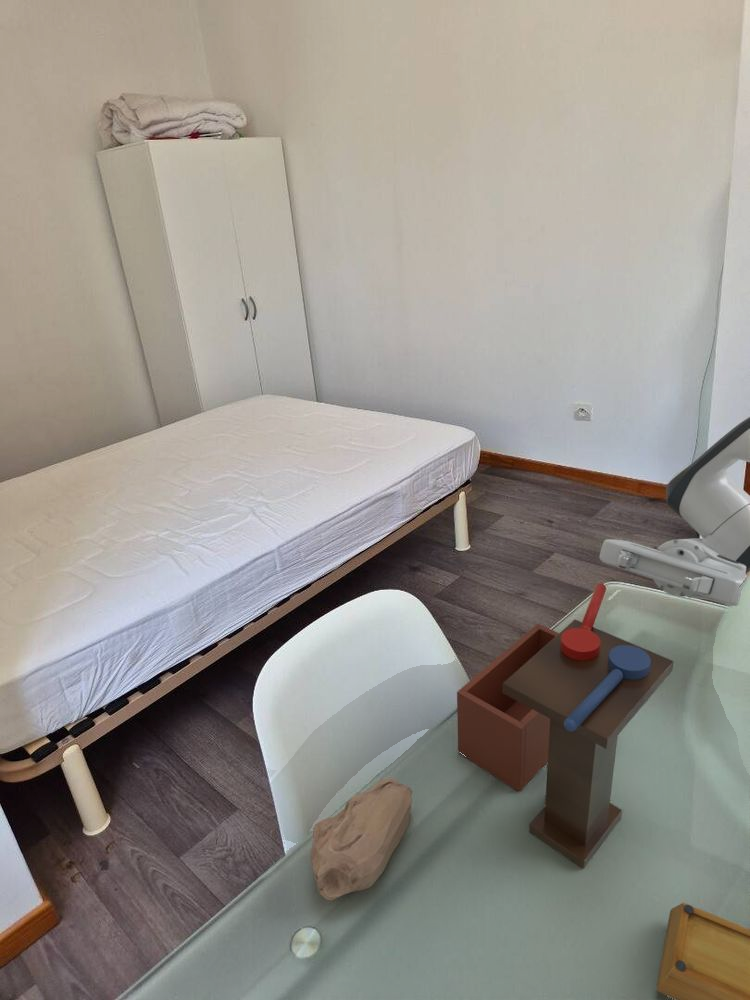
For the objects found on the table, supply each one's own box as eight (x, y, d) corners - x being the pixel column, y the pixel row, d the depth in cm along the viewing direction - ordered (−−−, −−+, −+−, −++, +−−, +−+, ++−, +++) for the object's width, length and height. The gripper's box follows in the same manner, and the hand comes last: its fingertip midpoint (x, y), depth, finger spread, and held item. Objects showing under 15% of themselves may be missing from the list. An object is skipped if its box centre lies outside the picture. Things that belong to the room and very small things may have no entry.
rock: (367, 870, 77) (291, 830, 80) (353, 935, 80) (280, 894, 83) (423, 777, 93) (358, 748, 97) (410, 834, 96) (347, 804, 100)
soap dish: (674, 888, 78) (669, 916, 80) (659, 969, 70) (653, 998, 72) (802, 940, 72) (792, 968, 74) (800, 1034, 64) (789, 1063, 66)
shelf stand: (564, 764, 101) (574, 619, 89) (650, 814, 92) (674, 661, 81) (499, 836, 91) (502, 683, 79) (589, 899, 82) (607, 738, 71)
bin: (535, 680, 117) (537, 623, 112) (594, 711, 110) (600, 651, 104) (457, 753, 104) (456, 691, 99) (519, 792, 97) (521, 728, 91)
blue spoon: (586, 744, 70) (587, 733, 70) (547, 722, 73) (548, 712, 73) (656, 665, 80) (657, 655, 80) (619, 649, 83) (620, 639, 83)
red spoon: (584, 586, 96) (585, 578, 95) (618, 593, 94) (619, 584, 93) (556, 655, 83) (556, 646, 82) (595, 664, 81) (596, 655, 80)
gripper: (623, 529, 113) (590, 529, 102) (758, 568, 100) (738, 574, 89) (612, 565, 114) (579, 570, 103) (745, 609, 101) (724, 620, 90)
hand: (654, 572), depth 96 cm, fingers open, 8 cm apart
